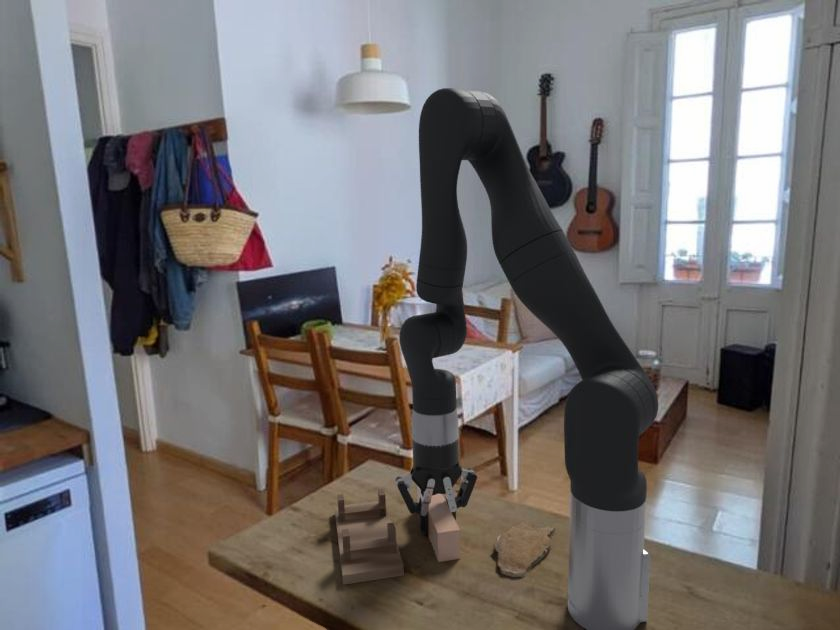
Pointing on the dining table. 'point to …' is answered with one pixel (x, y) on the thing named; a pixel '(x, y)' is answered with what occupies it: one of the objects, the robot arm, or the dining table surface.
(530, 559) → the pottery shard
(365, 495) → the dining table surface
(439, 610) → the dining table surface
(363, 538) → the brown cradle stand
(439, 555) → the clay bar
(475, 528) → the dining table surface
